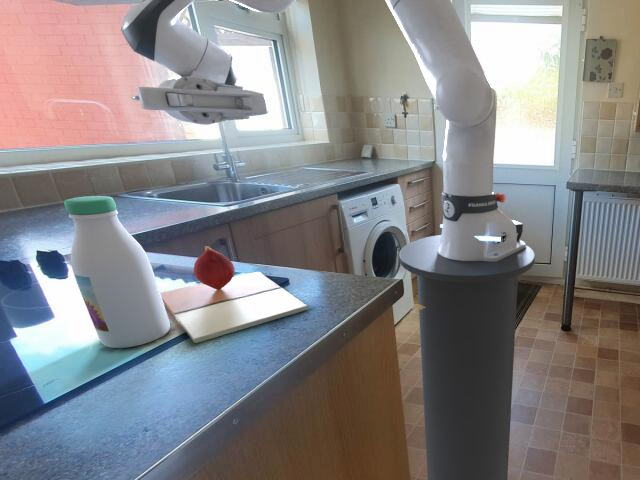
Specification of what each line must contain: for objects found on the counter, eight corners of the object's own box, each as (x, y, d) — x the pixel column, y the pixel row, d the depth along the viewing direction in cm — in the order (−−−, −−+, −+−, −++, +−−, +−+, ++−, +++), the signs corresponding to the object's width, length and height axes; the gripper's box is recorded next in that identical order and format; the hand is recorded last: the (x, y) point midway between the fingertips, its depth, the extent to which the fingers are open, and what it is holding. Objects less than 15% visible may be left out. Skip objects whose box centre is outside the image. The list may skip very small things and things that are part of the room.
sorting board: (259, 275, 83) (258, 270, 82) (308, 309, 69) (307, 305, 69) (159, 297, 71) (157, 292, 71) (194, 343, 58) (193, 338, 58)
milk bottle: (178, 320, 64) (139, 192, 56) (160, 344, 58) (112, 203, 50) (116, 327, 61) (65, 193, 54) (90, 353, 55) (27, 205, 47)
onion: (243, 282, 77) (233, 241, 74) (232, 294, 72) (221, 251, 69) (207, 284, 76) (196, 242, 72) (193, 296, 70) (181, 252, 67)
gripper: (123, 78, 74) (139, 76, 65) (249, 87, 88) (275, 86, 80) (134, 116, 76) (150, 119, 68) (255, 118, 90) (281, 121, 82)
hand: (219, 101), depth 74 cm, fingers open, 8 cm apart
